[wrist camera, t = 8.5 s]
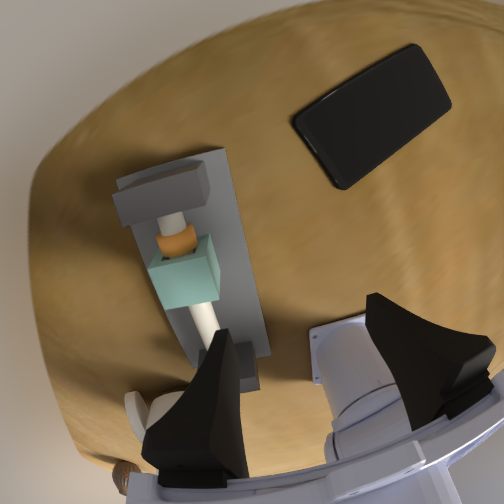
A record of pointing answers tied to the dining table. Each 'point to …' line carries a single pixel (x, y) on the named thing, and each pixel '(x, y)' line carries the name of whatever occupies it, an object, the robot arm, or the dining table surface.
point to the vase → (123, 475)
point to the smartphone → (372, 115)
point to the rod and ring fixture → (183, 243)
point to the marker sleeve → (187, 276)
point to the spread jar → (143, 417)
